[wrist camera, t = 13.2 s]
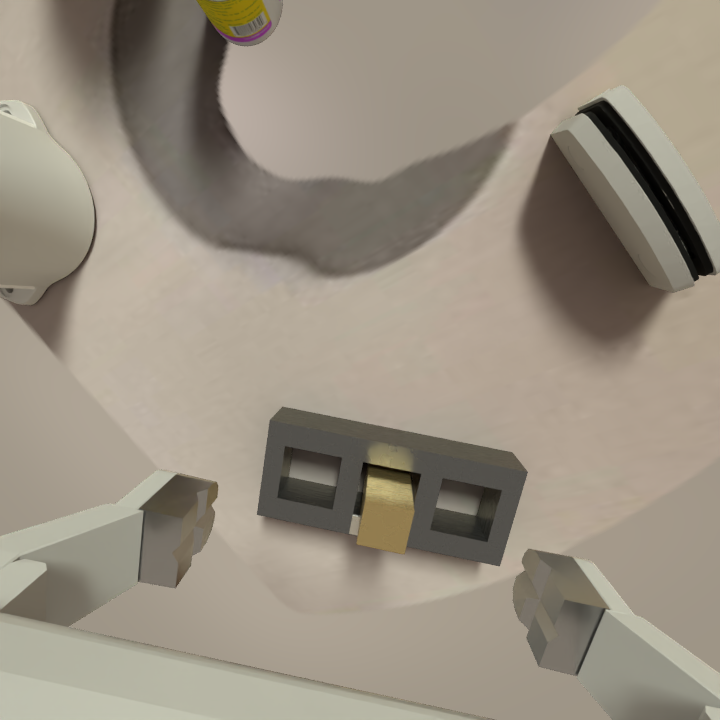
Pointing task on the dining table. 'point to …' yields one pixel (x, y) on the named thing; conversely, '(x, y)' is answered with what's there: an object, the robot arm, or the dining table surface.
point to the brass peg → (386, 509)
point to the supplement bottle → (243, 19)
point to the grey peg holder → (400, 451)
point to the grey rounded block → (642, 189)
